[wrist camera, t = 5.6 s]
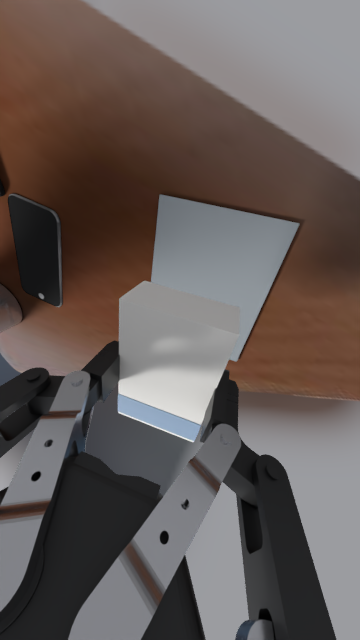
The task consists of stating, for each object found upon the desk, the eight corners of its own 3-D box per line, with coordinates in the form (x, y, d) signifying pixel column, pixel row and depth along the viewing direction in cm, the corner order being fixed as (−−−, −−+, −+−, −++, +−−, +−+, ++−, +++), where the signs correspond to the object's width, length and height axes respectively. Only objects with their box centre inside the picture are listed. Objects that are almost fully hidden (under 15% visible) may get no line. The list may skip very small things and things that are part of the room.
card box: (143, 280, 12) (118, 298, 9) (240, 307, 11) (239, 335, 8) (135, 384, 17) (117, 413, 14) (200, 408, 16) (193, 443, 13)
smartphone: (21, 291, 33) (4, 190, 24) (25, 290, 33) (10, 190, 25) (61, 309, 32) (57, 213, 24) (64, 307, 33) (62, 213, 25)
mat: (147, 331, 30) (146, 332, 30) (160, 194, 20) (159, 194, 20) (236, 359, 28) (236, 361, 28) (298, 223, 18) (299, 223, 18)
